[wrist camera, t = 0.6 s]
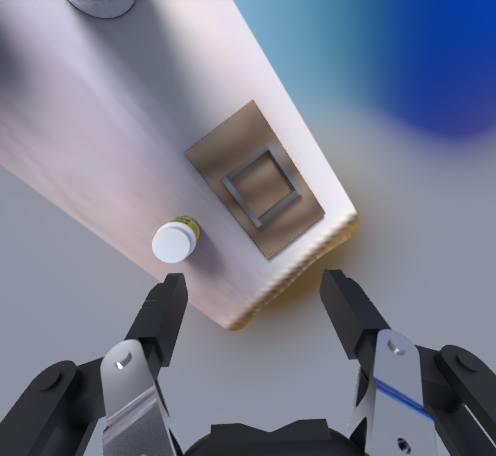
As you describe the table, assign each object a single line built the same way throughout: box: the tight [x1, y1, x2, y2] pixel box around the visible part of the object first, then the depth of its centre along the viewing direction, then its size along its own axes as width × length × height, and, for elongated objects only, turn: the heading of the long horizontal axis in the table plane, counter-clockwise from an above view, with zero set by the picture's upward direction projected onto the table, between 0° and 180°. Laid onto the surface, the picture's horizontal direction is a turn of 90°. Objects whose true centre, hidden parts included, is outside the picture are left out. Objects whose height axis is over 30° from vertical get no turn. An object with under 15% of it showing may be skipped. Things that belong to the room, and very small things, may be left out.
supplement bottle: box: [152, 216, 200, 263], centre depth 25 cm, size 5×5×8 cm
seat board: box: [184, 100, 326, 259], centre depth 28 cm, size 20×12×2 cm, turn 37°
